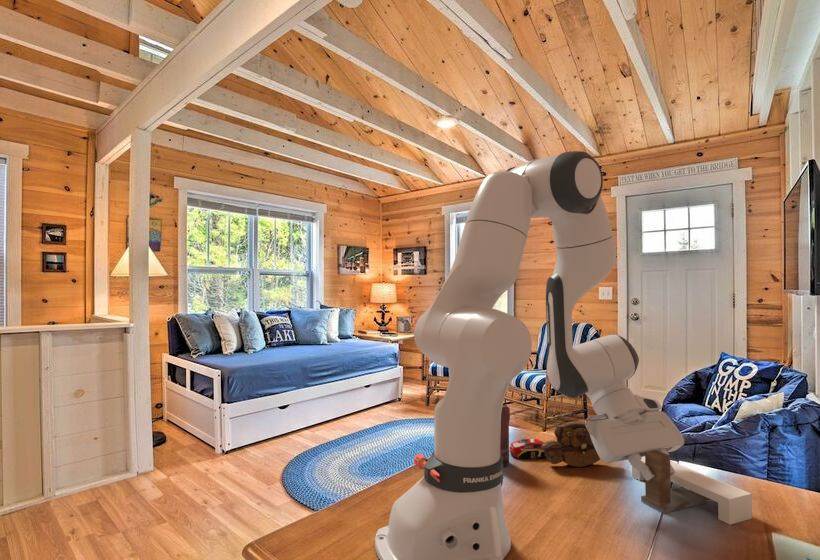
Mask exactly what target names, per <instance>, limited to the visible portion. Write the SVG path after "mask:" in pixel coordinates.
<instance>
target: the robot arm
mask: <svg viewBox="0 0 820 560" xmlns="http://www.w3.org/2000/svg"><path fill="white" fill-rule="evenodd" d="M603 178H604V177H603V172H602V169H601V167H600V164H599V163H598V161H597V160H596V159H595V158H594V157H593V156H592V155H591V154H589V153H588V152H586V151H582V150H580V151H579V150H572V151H565V152H562V153H559V154H555V155H549V156H546V157H545V156H544V157H542V158H541V157H540V158H535V159H531V160H529V161H526V162H524V163H522V164H519V165H518V166H512V167H509V168H508V169H506V170H500V171H498V170H497V171H494V172H492V173H490V174H488V175H487V176H486V177H485V178H484V179H483V180H482V182H481V183H480V186H479V188H478V190H477V192H476V193H475V196H474V198H473V201H472V203H471V205H470V207H469V211H468V214H467V217H466V220H465V224H464V227H463V230H462V233H461V237H460V241H459V243H458V248H457V251H456V254H455V257H454V261H453V263H452V266H451V269H450V271H449V272H448V275H447V277H446V279H445V280H444V283H443V284H442V285H441V287H440V290H439V292H438V294H437V295H436V297H435V298H434V301H433V302H432V304H431V305H430V306H429V307H428V308H427V310H426V311H424V312H423V313H422V314H421V315H420V317H419V318H418V319H417V321H416V323H415V326H414V330H413V337H414V343H415V345H416V348H417V349H418V350H419V351H420V353H421V354H422V355H424V356H425V357H426V358H427V359H429V360H430V361H432V363H434V364H437V365H438V366H442V367H445V368H448V369H449V370H448V371H449V376H448V377H449V378H448V382H447V387H446V390H445V393H444V395H443V397H442V398H441V399H440V400H438V401H437V403H436V404H435V407H434V410H433V416H434V417H433V418H434V419H433V421H434V422H433V423H434V424H433V425H434V426H433V428H434V429H433V431H434V432H433V434H434V435H433V436H434V437H433V439H434V440H433V442H434V443H433V445H434V448H433V449H434V450H433V451H432V453H431V455H430V457H429V458H427V457H426V456H424V455H423V454H421V453H418V454H416V455H415V457H414V458H413V463H414V465H415V466H417V468H418V469H419V470H423V474H424V475H423V476H422V477H421V478H420V479H419V480H418V481H417V482H415V484H414V485H412V487H410V488H409V489H408V490H407V491H405V493H403V494H402V495H401V496H400V497H399V498H397V499H395V502H394V503H393V504H392V507H391V509H390V514H389V520H388V525H385V526H382V527H380V528H378V530H377V531H376V533H375V539H374V549H375V553H376V555H377V557H378V560H379V559H380V560H504V559H505V557H506V556H507V555H508V553H509V552H510V550H511V548H512V541H511V537H510V534H509V530H508V526H507V521H506V516H505V510H504V502H503V500H504V499H503V489H502V487H503V486H502V485H503V483H504V467H503V457H502V455H501V454H500V435H501V412H502V406H503V404H504V400H505V397H506V395H507V392H508V389H509V388H510V385H511V383H512V382H513V380H514V379H515V378H516V377H517V376H518V375H520V374H521V373H522V372H523V371H524V370H525V369H526V367H527V365H528V364H529V362H530V359H531V355H532V351H533V350H532V349H533V348H532V347H533V343H532V342H533V341H532V336H531V333H530V331H529V329H528V327H527V325H526V324H525V323H524V322H523V320H521V319H520V318H518V317H516V316H515V315H514V316H513V315H511V314H509V313H507V312H504V311H502V310H499V309H496V308H494V306H495V305H496V303H497V302H498V300H499V299H500V297H502V296H503V294H504V293H506V292H507V291H508V290H510V288H512V287H513V285H514V284H515V283H516V281H517V278H518V275H519V271H520V268H521V262H522V258H523V255H524V252H525V248H526V247H525V246H526V244H527V240H528V239H527V238H528V236H529V230H530V227H531V226H530V225H531V219H538V218H539V219H541V218H543V219H546V218H548V219H549V221H550V222H551V224H552V233H553V240H554V246H555V251H556V255H555V257H556V258H555V265H554V269H553V272H552V274H550V276H548V278H547V280H546V284H545V285H546V286H545V311H546V312H545V314H546V340H547V341H546V342H547V354H546V361H545V368H546V375H547V378H548V382H549V384H550V386H551V387H552V389H553V390H554V391H556V392H557V393H559V394H561V395H563V396H566V397H568V398H571V399H576V398H579V397H580V396H582V395H586V397H588V399H589V400H590V402H591V407H592V409H593V410H594V412H595V414H596V415H590V416H588V417H587V418H586V420H585V421H584V424H585V426H586V428H587V430H588V432H589V433H590V437H591V440H592V442H593V445H594V447H595V449H596V451H597V454H598V455H599V457H600V460H601V461H603V462H604V463H606V464H610V463H611V464H612V463H616V462H617V463H618V462H621V461H623V462H624V461H627V462H628V463H629V464H630V466H631V467H632V466H633V467H634V468H636V469H637V470H638V471H639V472H641V473H642V475H643V477H644V478H645V480H647V481H648V480H652V479H654V478H656V473H655V472H654V470H653V468H652V467H650V468H649V467H648V466H646V465H645V464H644V463H643V462H642V461H641V459H642V458H641V457H644V456H645V452H649V451H654V450H657V451H660V452H662V453H665V454H667V455H670V452H671V453H672V452H676V451H677V450H679V448H681V447H683V446H684V445H685V438H684V436H683V434H682V433H681V431H680V430H679V429H678V427H677V425H676V423H674V422H673V421H672V419H671V417H669V415H668V414H666V413H665V412H664V411H661V409H662V405H661V404H660V402H659V401H658V400H657V399H652V398H648V397H644V396H641V395H638V394H634V393H633V392H632V390H631V389H630V388H629V387H628V386H627V384H626V383H627V382H626V381H628V380H630V379H631V378H632V377H633V376H634V375H635V373H636V371H637V370H638V366H639V361H640V358H639V355H638V353H637V350H636V349H635V348H634V347H633V345H632V344H631V343H630V341H629V340H627V339H626V338H624V337H623V336H621V335H618V334H616V333H613V334H608V335H604V336H601V337H598V338H594V339H592V340H589V341H586V342H585V341H584V342H582V343H579V344H576V345H573V319H572V318H573V317H572V316H573V311H574V308H575V306H576V304H577V303H578V302H579V300H581V299H582V297H584V296H585V295H586V294H587V293H588V292H590V291H591V290H592V289H593V288H595V287H596V286H598V285H599V284H601V283H602V282H603V281H604V280H605V279H607V277H608V276H609V275H610V273H612V270H613V269H614V266H615V264H616V259H617V251H616V250H617V248H616V244H615V239H614V233H613V228H612V225H611V220H610V218H609V215H608V212H607V211H608V210H607V208H606V205H605V202H604V200H603V199H602V195H601V194H602V191H603V183H604V182H603V181H604V179H603ZM674 473H675V470H674V469H673V467H672V466H671V464H670V476H671V475H673V474H674ZM645 480H644V481H645Z"/></svg>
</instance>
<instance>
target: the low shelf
mask: <svg viewBox="0 0 820 560" xmlns="http://www.w3.org/2000/svg"><path fill="white" fill-rule="evenodd" d="M641 458H642V459H641V461H642V462H643V463H644V464H645V456H644V457H641ZM670 464H671V466H672V467H673V469H674V470H675V473H674V474H673V475H671V476H670V482H672V483H674V484H676V485H678V486H680V487H684V488H686V489H688V490H691V491H694V492H696V493H698V494H700V495H702V496H705V497H707V498H709V499H711V500H710V501H714V502H716V503H717V507H718V510H717V511H718V517H717V518H718V520H719V521H721V522H722V523H723V522H724V523H726V524H728V525H735V524H738V523H741V522H744V521H748V520H752V519H753V514H752V513H753V509H752V508H753V505H752V502H753V501H752V499H753V498H752V493H751V492H748V491H747V490H743V489H741V488H739V487H736V486H734V485H731V484H729V483H726V482H724V481H721V480H719V479H717V478H714V477H712V476H709V475H707V474H704V473H701V472H699V471H697V470H694V469H692V468H689V467H687V466H684V465H682V464H679V463H677V462H674V461H673V460H672V461H671V460H670ZM631 474H632V475H631V478H633V477H634V478H633V479H635V478H636V479H635V480H637V479H638V480H637V481H639V480H641V481H643V480H642V479H645V478H644V477H643V475H642V473H641V472H639V471H638V470H637V469H636V468H634V467H633V466H632V465H631Z"/></svg>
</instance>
